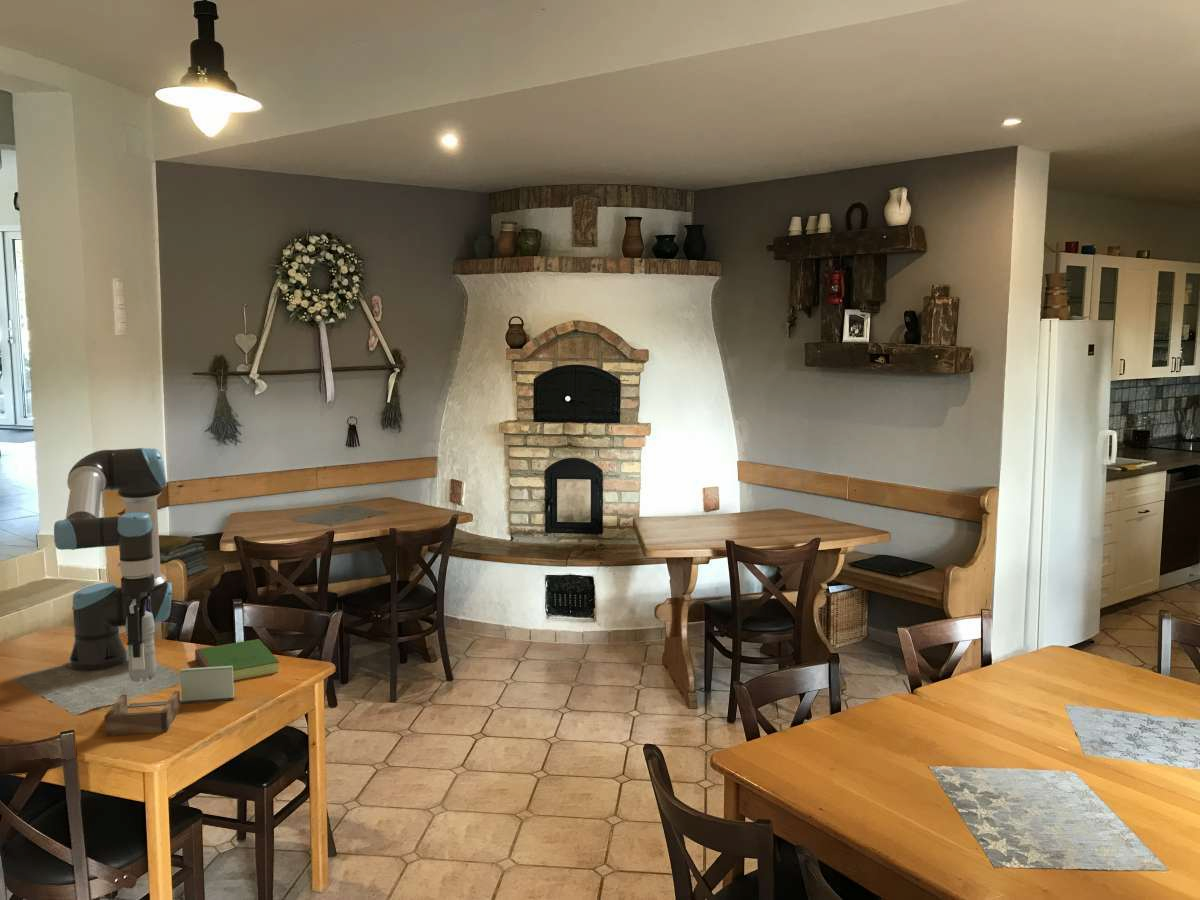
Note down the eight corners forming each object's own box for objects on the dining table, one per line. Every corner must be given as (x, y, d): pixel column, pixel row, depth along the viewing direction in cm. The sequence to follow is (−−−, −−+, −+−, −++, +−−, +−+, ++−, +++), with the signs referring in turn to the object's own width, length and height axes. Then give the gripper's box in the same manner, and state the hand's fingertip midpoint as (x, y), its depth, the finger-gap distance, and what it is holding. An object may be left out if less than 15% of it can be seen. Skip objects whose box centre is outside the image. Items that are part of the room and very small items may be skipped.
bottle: (145, 684, 234) (141, 606, 232) (122, 682, 236) (117, 605, 233) (163, 675, 241) (159, 599, 238) (140, 673, 242) (136, 597, 240)
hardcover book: (195, 661, 284) (195, 649, 284) (259, 650, 294) (259, 638, 294) (211, 687, 263) (211, 674, 263) (280, 674, 273) (279, 662, 273)
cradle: (129, 704, 250) (127, 686, 249) (235, 697, 255) (234, 679, 254) (105, 736, 230) (104, 716, 229) (221, 727, 235) (220, 708, 235)
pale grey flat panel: (182, 699, 252) (181, 668, 251) (234, 696, 254) (232, 665, 253) (181, 701, 251) (180, 670, 250) (233, 697, 253) (231, 667, 252)
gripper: (132, 566, 243) (136, 652, 246) (109, 585, 225) (115, 678, 228) (163, 565, 245) (167, 651, 248) (143, 584, 226) (148, 676, 229)
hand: (142, 664), depth 238 cm, fingers closed on bottle, 6 cm apart
